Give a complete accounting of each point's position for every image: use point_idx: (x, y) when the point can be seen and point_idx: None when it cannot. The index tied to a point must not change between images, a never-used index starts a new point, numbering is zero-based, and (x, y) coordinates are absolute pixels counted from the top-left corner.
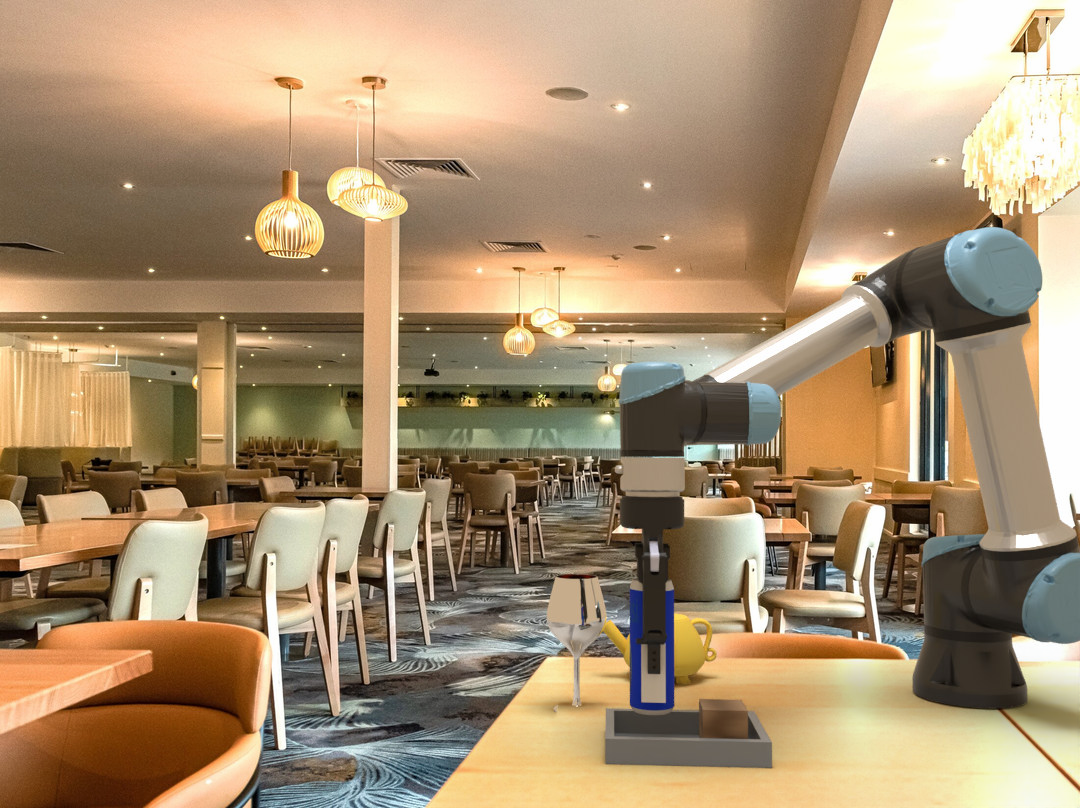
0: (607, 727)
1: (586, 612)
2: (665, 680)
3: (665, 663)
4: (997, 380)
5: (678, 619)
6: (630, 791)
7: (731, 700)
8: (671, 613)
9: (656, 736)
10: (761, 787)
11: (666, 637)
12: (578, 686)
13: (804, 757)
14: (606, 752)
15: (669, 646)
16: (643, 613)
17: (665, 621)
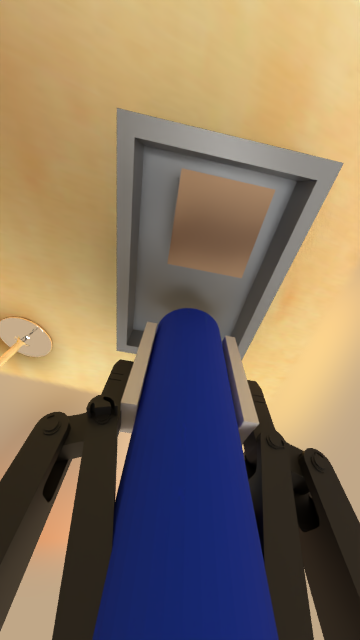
0: None
1: None
2: (241, 361)
3: (248, 386)
4: None
5: None
6: (288, 340)
7: (185, 198)
8: (237, 500)
9: (146, 291)
10: (346, 206)
11: (323, 460)
12: (8, 354)
13: (246, 36)
14: None
15: (229, 402)
16: (302, 554)
17: (357, 519)
